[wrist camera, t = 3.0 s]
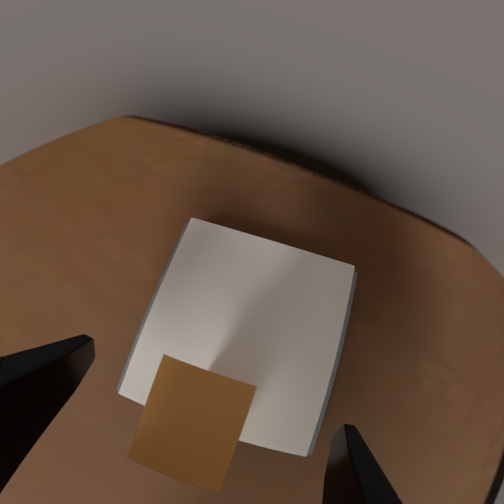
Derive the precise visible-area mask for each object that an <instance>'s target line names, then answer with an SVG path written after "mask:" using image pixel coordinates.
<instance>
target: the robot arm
mask: <svg viewBox="0 0 504 504" xmlns="http://www.w3.org/2000/svg"><path fill="white" fill-rule="evenodd" d="M94 359H95V345H94V340H93V338H91V337H89V336H87V335H85V334H83V335H79V336H75V337H72V338H68V339H65V340H61V341H58V342H54V343H51V344H47V345H43V346H40V347H36V348H32V349H29V350H25V351H21V352H18V353H14V354H10V355H6V356H5V357H4V356H2V357H0V493H1V492H2V490H3V489H4V487H5V486H6V484H7V483H8V481H9V480H10V478H11V477H12V475H13V474H14V473H15V471H16V470H17V468H18V467H19V466H20V464H21V462H22V461H23V460H24V458H25V457H26V455H27V454H28V453H29V451H30V450H31V449H32V447H33V446H34V444H35V443H36V442H37V440H38V439H39V438H40V436H41V435H42V434H43V432H44V431H45V430H46V428H47V427H48V426H49V424H50V423H51V422H52V420H53V419H54V418H55V416H56V415H57V414H58V412H59V411H60V410H61V408H62V407H63V406H64V405H65V403H66V402H67V401H68V399H69V398H70V397H71V396H72V394H73V393H74V392H75V390H76V389H77V387H78V386H79V384H80V382H81V381H82V379H83V377H84V376H85V374H86V373H87V371H88V369H89V368H90V366H91V365H92V363H93V361H94ZM398 498H399V497H398V495H397V494H396V492H395V490H394V489H393V487H392V486H391V484H390V482H389V481H388V479H387V477H386V476H385V474H384V473H383V471H382V469H381V468H380V466H379V464H378V463H377V461H376V459H375V458H374V456H373V455H372V453H371V451H370V450H369V448H368V446H367V445H366V443H365V441H364V440H363V438H362V437H361V435H360V433H359V432H358V430H357V428H356V427H355V426H354V425H350V424H343V425H342V426H341V427H340V428H339V430H338V431H337V432H336V434H335V435H334V436H333V438H332V441H331V445H330V451H329V457H328V462H327V467H326V472H325V478H324V488H323V501H322V504H403V503H402V502H401V500H400V499H398Z"/></svg>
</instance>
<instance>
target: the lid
mask: <svg viewBox="0 0 504 504" xmlns="http://www.w3.org/2000/svg"><path fill="white" fill-rule="evenodd" d="M354 268H355V266H354V265H350V264H347V263H344V262H341V261H337V260H334V259H331V258H328V257H324V256H321V255H318V254H314V253H311V252H308V251H305V250H301V249H298V248H295V247H291V246H288V245H285V244H281V243H278V242H274V241H271V240H268V239H264V238H261V237H258V236H254V235H251V234H247V233H244V232H241V231H237V230H234V229H230V228H227V227H223V226H220V225H216V224H213V223H209V222H206V221H203V220H199V219H196V218H191V220H190V222H189V224H188V226H187V228H186V230H185V232H184V234H183V237H182V239H181V241H180V243H179V245H178V247H177V250H176V252H175V254H174V256H173V259H172V261H171V263H170V265H169V268H168V270H167V272H166V274H165V277H164V279H163V281H162V284H161V286H160V288H159V291H158V293H157V295H156V298H155V300H154V302H153V305H152V307H151V310H150V312H149V314H148V317H147V319H146V322H145V324H144V327H143V329H142V332H141V334H140V337H139V339H138V342H137V345H136V347H135V350H134V352H133V355H132V358H131V360H130V363H129V366H128V368H127V371H126V374H125V377H124V379H123V382H122V385H121V388H120V391H119V394H121V395H123V396H125V397H127V398H129V399H131V400H133V401H135V402H138V403H140V404H142V405H144V406H145V407H144V409H143V412H142V415H141V418H140V421H139V424H138V427H137V430H136V433H135V436H134V439H133V442H132V445H131V448H130V451H129V454H128V457H127V458H129V459H131V460H133V461H135V462H137V463H139V464H141V465H144V466H146V467H148V468H150V469H153V470H155V471H157V472H160V473H162V474H165V475H167V476H170V477H172V478H175V479H178V480H180V481H183V482H186V483H189V484H191V485H194V486H197V487H200V488H203V489H206V490H210V491H213V492H216V493H220V490H221V488H222V485H223V482H224V480H225V477H226V474H227V471H228V469H229V466H230V463H231V460H232V458H233V455H234V452H235V449H236V447H237V444H238V441H243V442H246V443H250V444H254V445H257V446H261V447H265V448H269V449H273V450H277V451H282V452H286V453H291V454H295V455H300V456H305V457H306V455H307V452H308V450H309V447H310V444H311V441H312V438H313V435H314V431H315V428H316V425H317V422H318V419H319V416H320V412H321V409H322V406H323V402H324V399H325V395H326V392H327V388H328V385H329V381H330V377H331V373H332V370H333V366H334V362H335V358H336V354H337V350H338V346H339V341H340V337H341V333H342V328H343V324H344V319H345V315H346V310H347V305H348V300H349V295H350V290H351V284H352V279H353V273H354Z"/></svg>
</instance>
